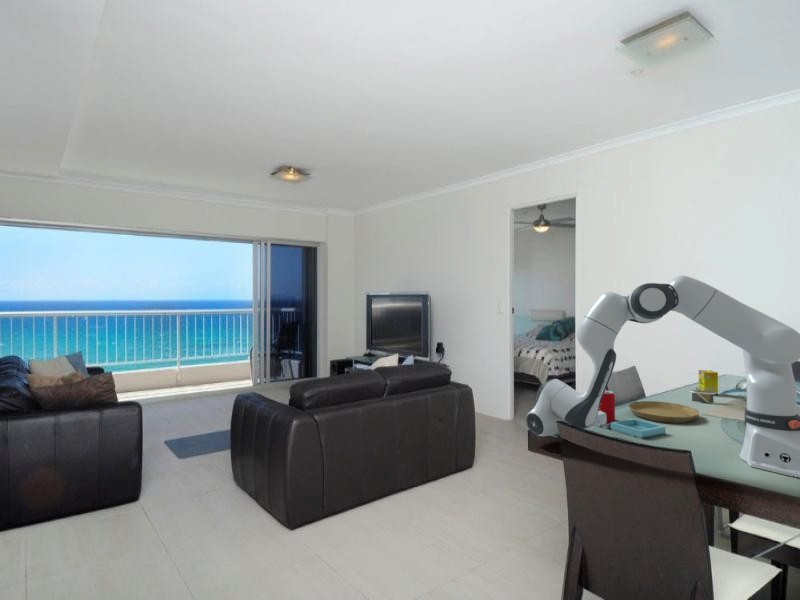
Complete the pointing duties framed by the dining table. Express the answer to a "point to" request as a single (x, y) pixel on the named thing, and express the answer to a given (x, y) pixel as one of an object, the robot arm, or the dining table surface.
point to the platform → (702, 395)
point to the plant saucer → (663, 411)
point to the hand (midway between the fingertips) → (587, 410)
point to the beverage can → (608, 406)
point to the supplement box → (708, 380)
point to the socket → (608, 424)
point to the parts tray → (638, 428)
